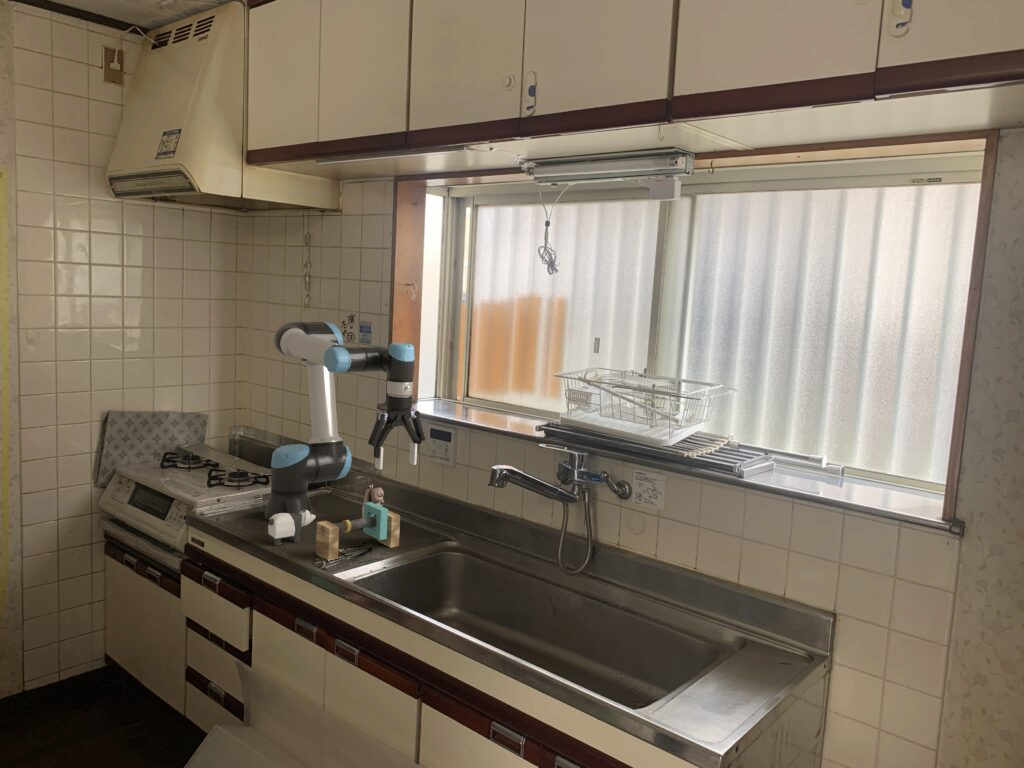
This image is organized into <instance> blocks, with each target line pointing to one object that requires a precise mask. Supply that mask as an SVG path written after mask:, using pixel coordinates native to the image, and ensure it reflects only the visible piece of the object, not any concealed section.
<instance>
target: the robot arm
mask: <svg viewBox="0 0 1024 768" xmlns="http://www.w3.org/2000/svg"><path fill="white" fill-rule="evenodd" d="M343 339H344V338H343V335H342V332H341V330H340V329H339V327H337V325H336V324H334V323H332V322H325V321H290V322H287V323H286V322H285V323H284V324H282V325H281V326H280V327H278V329H277V330H276V331H275V333H274V335H273V343H274V347H275V349H276V351H278V353H280V354H281V355H283V356H285V357H288V358H301V362H302V364H303V365H305V366H306V368H307V369H306V370H307V380H308V383H307V384H308V391H309V392H308V395H309V396H308V397H309V409H310V423H311V424H310V425H311V435H312V437H311V439H310V440H309V441H308V443H307V444H308V445H306V444H301V443H296V444H287V445H286V444H285V445H283V446H280V447H277V448H275V450H274V451H273V452H272V455H271V456H272V457H271V462H270V466H271V472H270V473H271V475H270V476H271V477H270V496H269V498H268V500H267V504H266V506H265V509H264V519H265V520H267V521H269V520H270V518H271V517H272V516H273V515H275V514H279V513H300V512H301V508H303V510H304V509H306V510H308V511H309V512H310V514H313V507H312V504H311V500H310V498H309V493H308V489H309V484H314V483H321V482H329V481H331V482H333V481H336V480H339V479H342V478H345V477H346V476H347V474H349V472H350V469H351V466H352V452H351V450H350V448H349V446H348V445H346V444H344V439H343V438H341V436H339V430H338V429H339V427H338V415H337V413H338V412H337V401H336V400H337V399H336V387H335V386H336V385H335V373H336V374H343V373H345V374H346V373H369V372H370V373H372V372H373V373H374V372H382V373H386V374H387V384H386V385H387V386H386V393H387V396H386V412H385V413H383V412H377V413H376V421H375V424H374V426H373V429H372V431H371V434H370V437H369V439H368V442H367V444H368V445H369V446H372V447H373V458H375V462H374V468H375V469H377V470H383V462H384V447H382V446H383V444H384V443H385V441H386V440H387V438H388V436H389V434H390V433H391V431H392V430H394V428H396V427H398V428H399V427H400V426H401V427H404V429H405V431H406V433H407V434H408V436H409V437H410V439H411V441H412V442H411V441H410V443H409V457H408V459H409V460H408V461H409V462H408V463H409V464H411V465H413V466H416V465H417V460H418V459H417V458H418V454H419V451H420V444H422V441H425V440H426V436H425V433H424V429H423V426H422V423H421V419H420V411H418V410H416V409H412V406H413V396H412V395H413V389H414V388H413V386H414V371H415V370H414V368H415V358H416V357H415V346H414V345H413V344H411V343H405V342H391V343H390V344H389V347H385V346H383V345H370V346H346V345H344V340H343ZM411 409H412V410H411ZM410 418H411V421H410ZM412 424H413V426H412Z"/></svg>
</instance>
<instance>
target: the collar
mask: <svg viewBox="0 0 1024 768" xmlns="http://www.w3.org/2000/svg"><path fill="white" fill-rule="evenodd" d="M363 503H364V502H363ZM384 507H385V506H384ZM384 507H382V506H379V505H377V504H375V502H372V501H371V502H368V503H364V518H367V517H372V516H374V514H375V515H377V525H376V526H371V527H365V528H362V532H363V533H364V534H366V535H368V536H370V537H373V538H375V539H376V540H377V541H378V540H383V539H387V518H388V510H389V509H388V508H386V507H385V508H384Z"/></svg>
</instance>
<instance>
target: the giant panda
mask: <svg viewBox="0 0 1024 768" xmlns="http://www.w3.org/2000/svg"><path fill="white" fill-rule="evenodd" d="M316 517H317V516H316V514H313V513H312V514H310V512H309V511H308V510H306V509H304V510H303V508H301V512H300V513H279V514H275V515H273V516H272V517H271V518H270V520H268V527H267V531H268V538H269V543H271V542H273V545H274V546H275V545H278V546H282V545H281V544H283V542H282V541H281V539H282V538H288V540H292V542H293V543H295V542H296V543H302V541H303V540H302V539H301V532H302V527H304V526H308V525H309V524H310V523H312V522H313V521H314V520H315V519H316Z"/></svg>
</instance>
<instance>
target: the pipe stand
mask: <svg viewBox="0 0 1024 768" xmlns="http://www.w3.org/2000/svg"><path fill="white" fill-rule="evenodd" d="M400 523H401V514H398V513H396V512H394V511H392V510H391V511H390V510H389V509H388V518H387V539H383V540H378V539H377V542H378V543H380V544H382V545H385V546H386V547H388V548H396V547H399V546H400V533H401V532H400V529H401V528H400V527H401V526H400V525H401V524H400ZM371 526H375V527H376V526H377V516H372V517H367V518H362V517H361V518H356V519H352V520H349V519H346V520H345V519H344V520H342V521H340V522H335V523H333V522H330V521H328V520H321V521H317V522H316V535H315V536H316V539H315V541H316V542H315V555H316V554H317V555H316V556H318V555H319V556H318V557H320V558H322V557H323V558H326V559H327V560H328V561H327V560H326V561H327V562H331V561H330V560H333V561H336V560H335V559H337V560H339V552H338V551H342V550H344V549H345V548H341V549H339V537H340V533H349V532H351V531H355V530H359V529H363V528H365V527H371ZM323 558H322V559H323Z"/></svg>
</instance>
